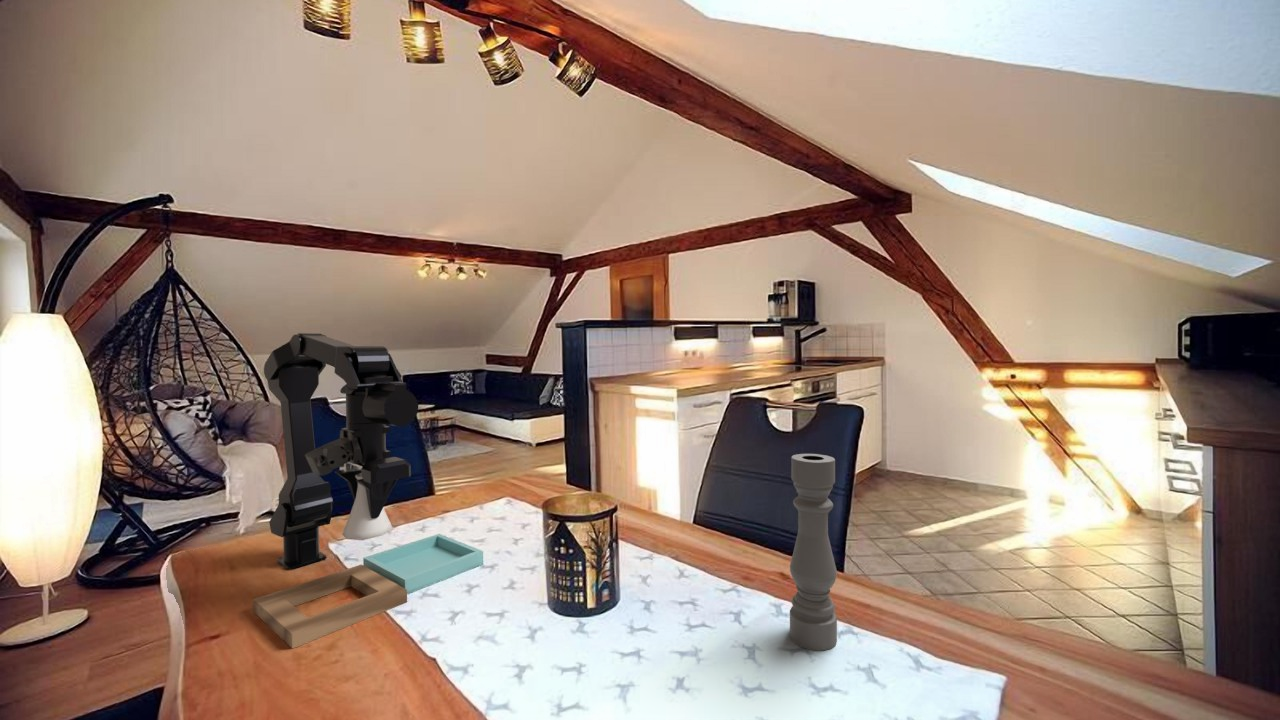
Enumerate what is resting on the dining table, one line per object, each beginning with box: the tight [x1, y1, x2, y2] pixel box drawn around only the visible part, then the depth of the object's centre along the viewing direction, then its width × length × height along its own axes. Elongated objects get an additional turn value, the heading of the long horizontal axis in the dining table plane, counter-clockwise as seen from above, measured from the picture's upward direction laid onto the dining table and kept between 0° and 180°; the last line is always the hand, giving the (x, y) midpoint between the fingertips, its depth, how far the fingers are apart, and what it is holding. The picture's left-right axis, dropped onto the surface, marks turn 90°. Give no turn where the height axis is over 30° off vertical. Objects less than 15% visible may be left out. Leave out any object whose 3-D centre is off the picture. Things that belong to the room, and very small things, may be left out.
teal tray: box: [362, 533, 484, 595], centre depth 95 cm, size 15×15×2 cm
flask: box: [341, 473, 394, 541], centre depth 86 cm, size 7×7×10 cm
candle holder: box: [789, 453, 838, 652], centre depth 71 cm, size 6×6×25 cm
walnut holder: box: [253, 564, 408, 649], centre depth 81 cm, size 16×16×2 cm
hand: (367, 514), depth 86 cm, fingers closed on flask, 5 cm apart
